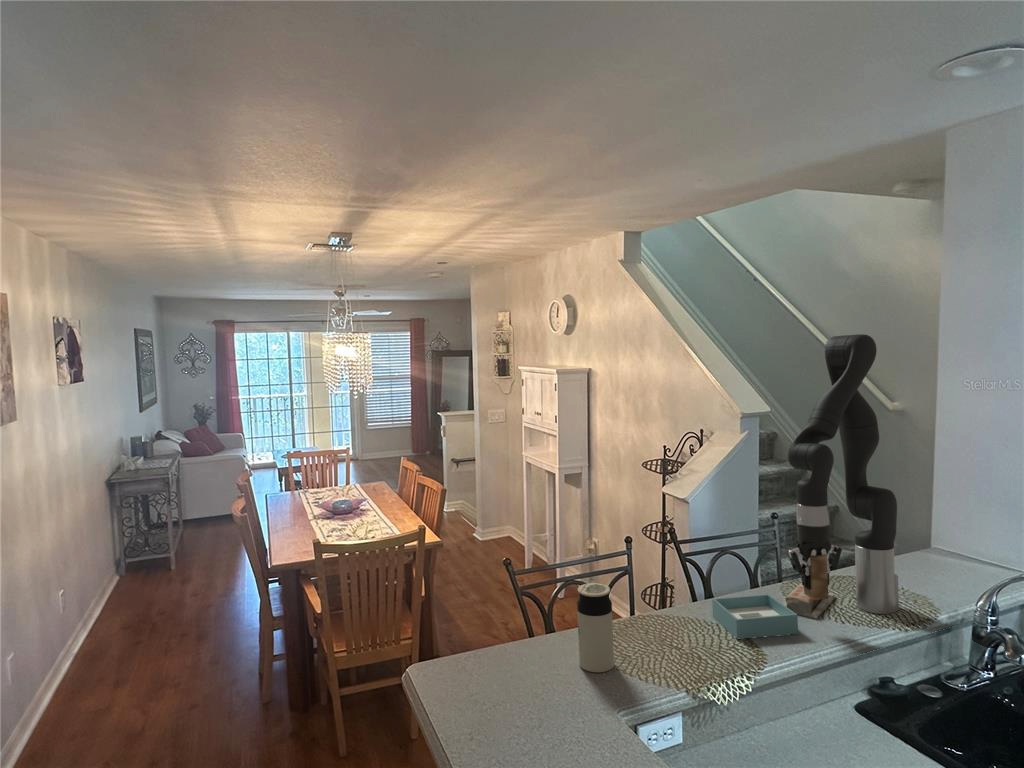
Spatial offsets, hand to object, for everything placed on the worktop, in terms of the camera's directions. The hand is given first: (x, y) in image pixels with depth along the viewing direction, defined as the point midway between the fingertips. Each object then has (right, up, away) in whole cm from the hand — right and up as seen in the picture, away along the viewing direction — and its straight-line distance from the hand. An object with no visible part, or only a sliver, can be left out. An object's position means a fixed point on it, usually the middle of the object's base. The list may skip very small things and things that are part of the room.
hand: (815, 587), depth 156 cm
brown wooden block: (0, -2, 0) cm, 2 cm away
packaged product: (+6, -11, +16) cm, 20 cm away
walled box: (-14, -11, +4) cm, 19 cm away
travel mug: (-58, -14, -14) cm, 61 cm away
